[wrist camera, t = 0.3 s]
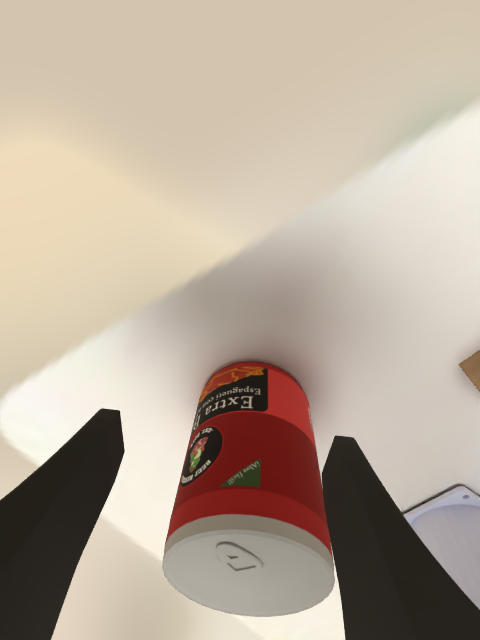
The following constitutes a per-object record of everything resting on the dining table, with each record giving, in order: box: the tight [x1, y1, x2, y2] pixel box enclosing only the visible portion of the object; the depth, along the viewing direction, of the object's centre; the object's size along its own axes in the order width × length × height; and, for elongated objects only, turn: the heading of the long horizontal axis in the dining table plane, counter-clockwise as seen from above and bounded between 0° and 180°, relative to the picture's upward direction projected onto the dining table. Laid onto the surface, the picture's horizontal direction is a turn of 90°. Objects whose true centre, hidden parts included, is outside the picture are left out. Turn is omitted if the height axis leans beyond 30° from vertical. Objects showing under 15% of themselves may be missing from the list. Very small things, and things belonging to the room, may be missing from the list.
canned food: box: [162, 362, 335, 617], centre depth 20 cm, size 8×8×11 cm
